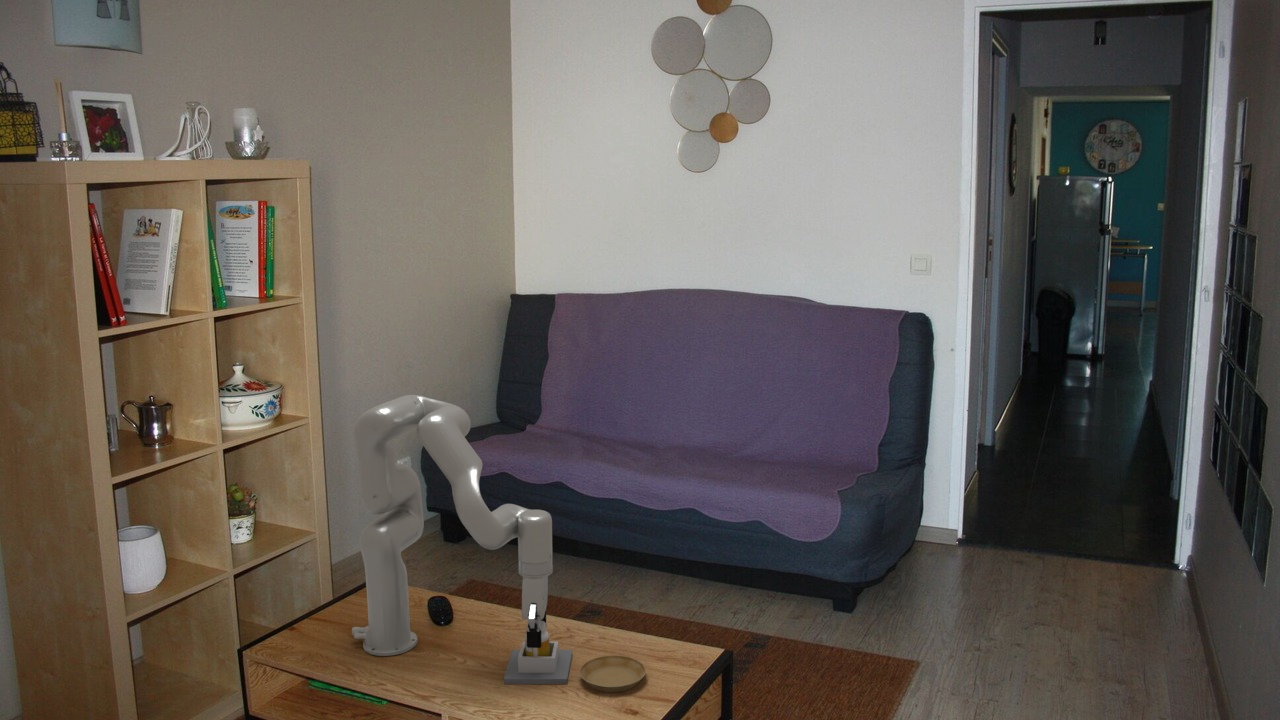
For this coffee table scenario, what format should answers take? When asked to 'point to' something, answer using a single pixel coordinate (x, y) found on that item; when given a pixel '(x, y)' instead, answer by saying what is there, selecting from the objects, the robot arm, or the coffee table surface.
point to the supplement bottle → (544, 643)
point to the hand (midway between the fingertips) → (536, 637)
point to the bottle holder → (539, 666)
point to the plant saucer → (612, 673)
